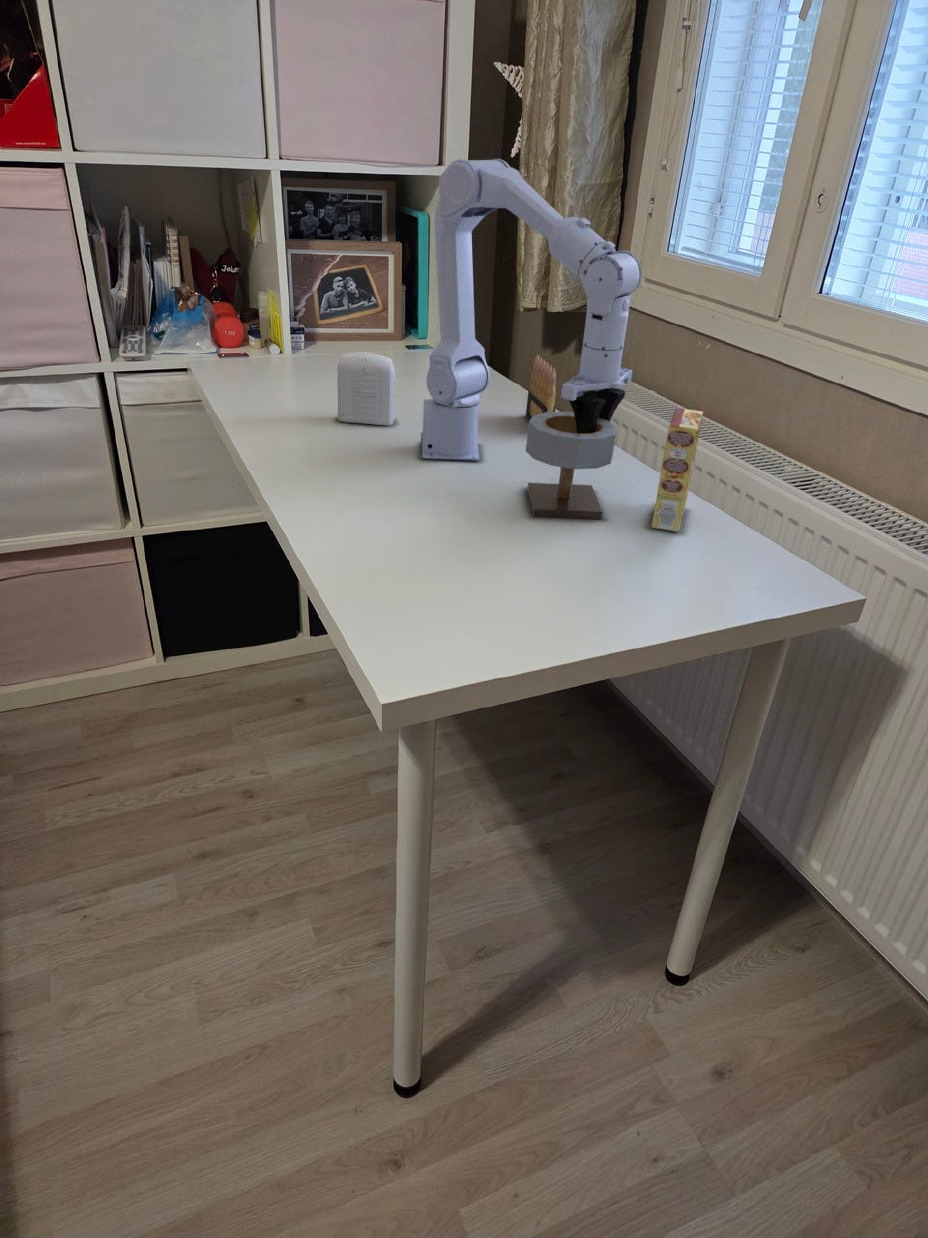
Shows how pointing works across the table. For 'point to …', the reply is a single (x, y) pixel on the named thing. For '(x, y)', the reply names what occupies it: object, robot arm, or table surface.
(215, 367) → the table surface
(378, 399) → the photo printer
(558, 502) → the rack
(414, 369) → the table surface
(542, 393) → the ammunition clip
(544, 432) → the tape roll
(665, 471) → the candy box
